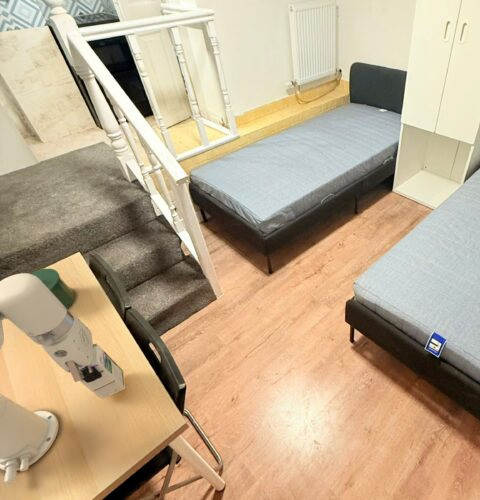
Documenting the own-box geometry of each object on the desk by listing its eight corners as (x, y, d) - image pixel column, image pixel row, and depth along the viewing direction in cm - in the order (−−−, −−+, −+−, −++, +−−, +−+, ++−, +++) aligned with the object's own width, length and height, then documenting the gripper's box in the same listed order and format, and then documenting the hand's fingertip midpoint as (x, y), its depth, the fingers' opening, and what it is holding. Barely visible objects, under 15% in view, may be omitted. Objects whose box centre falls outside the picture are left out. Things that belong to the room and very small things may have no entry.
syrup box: (126, 389, 86) (99, 361, 76) (101, 400, 84) (69, 373, 74) (123, 370, 89) (97, 341, 79) (99, 381, 87) (69, 353, 77)
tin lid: (65, 286, 101) (56, 276, 98) (17, 310, 95) (6, 301, 92) (54, 264, 108) (46, 254, 104) (9, 286, 102) (-2, 276, 98)
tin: (79, 303, 107) (62, 285, 100) (38, 325, 102) (17, 307, 95) (69, 283, 113) (52, 265, 107) (30, 303, 108) (10, 284, 101)
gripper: (71, 350, 63) (114, 391, 75) (71, 288, 74) (109, 333, 86) (24, 369, 60) (76, 407, 73) (32, 301, 71) (76, 345, 84)
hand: (94, 366), depth 79 cm, fingers closed on syrup box, 5 cm apart
